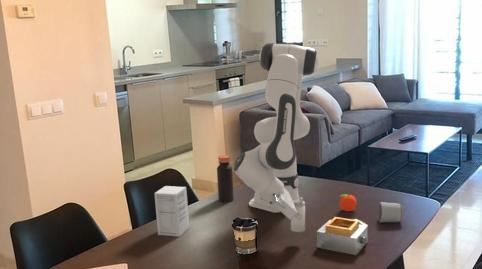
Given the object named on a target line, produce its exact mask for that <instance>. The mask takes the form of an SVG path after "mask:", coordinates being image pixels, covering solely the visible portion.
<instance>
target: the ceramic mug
mask: <svg viewBox="0 0 482 269" xmlns="http://www.w3.org/2000/svg"><path fill="white" fill-rule="evenodd" d="M377 214H378V221H379V223H400V222H402V221H403V207H402V205H401V204H400V203H397V202H385V201H383V202H382V201H380V202H379V204H378V213H377Z"/></svg>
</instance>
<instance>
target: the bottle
mask: <svg viewBox="0 0 482 269" xmlns="http://www.w3.org/2000/svg"><path fill="white" fill-rule="evenodd" d="M230 158H231V157H230V155H219V156H218V164H219V165H218V166H217V168H216V176H217V177H216V178H217V191H218V192H217V194H218V195H217V196H218V201H219V202H221V203H229V202H232V201H234V199H235V198H234V197H235V196H234V194H235V193H234V178H233V167H232V165H230V163H231V162H230V161H231V160H230Z"/></svg>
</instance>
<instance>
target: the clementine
mask: <svg viewBox="0 0 482 269" xmlns="http://www.w3.org/2000/svg"><path fill="white" fill-rule="evenodd" d="M339 197H340V199H339ZM339 197H337V199H339V207H340V208H341V210H342V211H344V212H352V211H354V210H355V209H356V208H357V203H358V202H357V198H355V196H354V195H352V194H340V195H339Z"/></svg>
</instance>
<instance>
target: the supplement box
mask: <svg viewBox="0 0 482 269" xmlns="http://www.w3.org/2000/svg"><path fill="white" fill-rule="evenodd" d="M187 191H188V190H187V186H175V185H173V186H171V185H165V186H163V187H162V188H160V189H158V190H157V191H155V192H154V202H155V203H154V204H155V214H156V226H157V227H156V228H157V235H158V236H165V237H167V236H168V237H169V236H171V237H182V235H183V234H185V233H186V231H188V230H189V229H190V218H189V205H188V204H189V203H188V194H187V193H188V192H187Z"/></svg>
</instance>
